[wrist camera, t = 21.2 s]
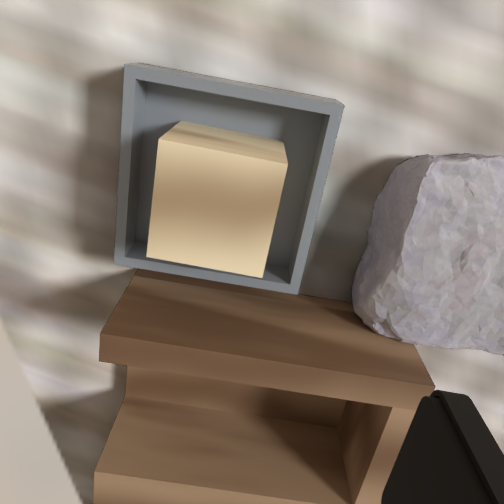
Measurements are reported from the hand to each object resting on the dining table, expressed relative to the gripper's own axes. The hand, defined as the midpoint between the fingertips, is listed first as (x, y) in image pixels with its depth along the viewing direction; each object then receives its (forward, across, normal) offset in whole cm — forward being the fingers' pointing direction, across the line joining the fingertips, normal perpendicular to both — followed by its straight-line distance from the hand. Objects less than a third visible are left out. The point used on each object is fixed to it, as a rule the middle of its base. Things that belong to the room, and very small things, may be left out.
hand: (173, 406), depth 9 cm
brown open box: (+16, -3, +14) cm, 21 cm away
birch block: (+16, +1, 0) cm, 16 cm away
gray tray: (+16, +1, 0) cm, 16 cm away
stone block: (+17, -13, +1) cm, 21 cm away
